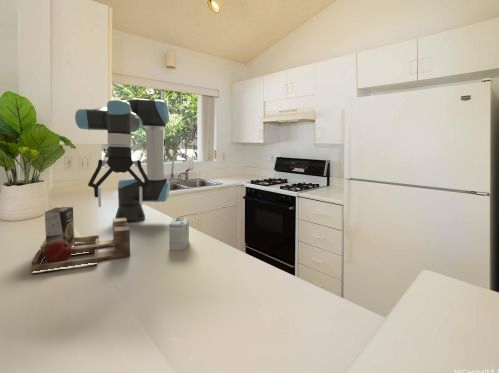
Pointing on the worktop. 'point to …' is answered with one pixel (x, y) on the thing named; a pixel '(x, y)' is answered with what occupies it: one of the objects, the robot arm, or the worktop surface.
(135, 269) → the worktop surface
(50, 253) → the apple
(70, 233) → the coffee box
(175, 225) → the light bulb box
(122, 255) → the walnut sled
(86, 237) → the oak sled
